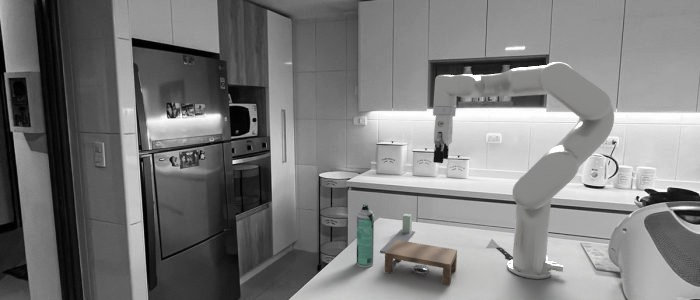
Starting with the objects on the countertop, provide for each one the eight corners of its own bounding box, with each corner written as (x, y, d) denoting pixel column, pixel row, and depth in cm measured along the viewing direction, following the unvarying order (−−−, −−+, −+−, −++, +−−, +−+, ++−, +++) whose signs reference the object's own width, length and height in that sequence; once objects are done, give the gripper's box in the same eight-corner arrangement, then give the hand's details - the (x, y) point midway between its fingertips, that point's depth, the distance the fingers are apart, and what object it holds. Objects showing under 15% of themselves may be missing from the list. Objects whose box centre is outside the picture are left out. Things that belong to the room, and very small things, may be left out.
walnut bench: (456, 269, 120) (457, 249, 119) (449, 285, 109) (450, 264, 108) (396, 258, 128) (396, 239, 128) (384, 272, 118) (384, 252, 117)
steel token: (430, 270, 120) (430, 266, 120) (426, 276, 116) (426, 272, 115) (415, 267, 122) (415, 263, 122) (410, 273, 118) (411, 269, 118)
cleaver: (488, 261, 127) (518, 261, 127) (488, 260, 127) (518, 259, 127) (461, 232, 156) (485, 232, 156) (462, 231, 156) (485, 230, 156)
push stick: (415, 233, 154) (415, 214, 153) (396, 255, 131) (396, 234, 130) (401, 231, 156) (401, 213, 155) (380, 252, 134) (380, 231, 133)
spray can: (375, 262, 125) (376, 204, 122) (369, 268, 120) (370, 208, 118) (360, 259, 127) (360, 202, 125) (353, 265, 122) (354, 206, 120)
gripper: (451, 113, 119) (447, 165, 122) (458, 111, 135) (455, 158, 138) (427, 111, 122) (424, 163, 125) (438, 110, 138) (434, 156, 141)
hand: (440, 160), depth 131 cm, fingers open, 9 cm apart
